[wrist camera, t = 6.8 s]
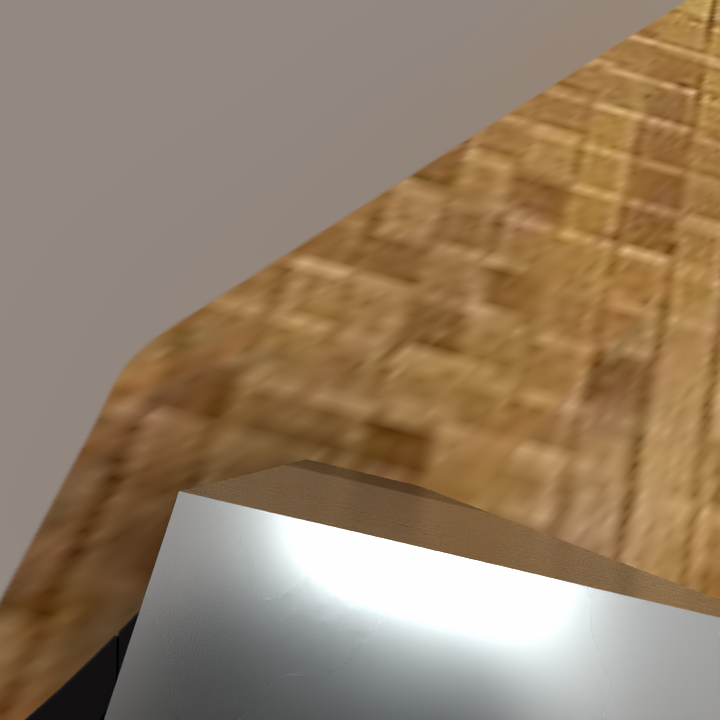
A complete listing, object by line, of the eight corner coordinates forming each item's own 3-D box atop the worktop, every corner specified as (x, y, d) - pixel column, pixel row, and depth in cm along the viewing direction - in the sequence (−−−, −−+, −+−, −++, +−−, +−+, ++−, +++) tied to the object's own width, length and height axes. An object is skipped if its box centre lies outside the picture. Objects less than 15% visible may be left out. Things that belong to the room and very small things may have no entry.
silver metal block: (396, 615, 14) (936, 1970, 2) (273, 587, 14) (-239, 1758, 1) (419, 486, 15) (840, 645, 3) (306, 459, 15) (179, 490, 3)
